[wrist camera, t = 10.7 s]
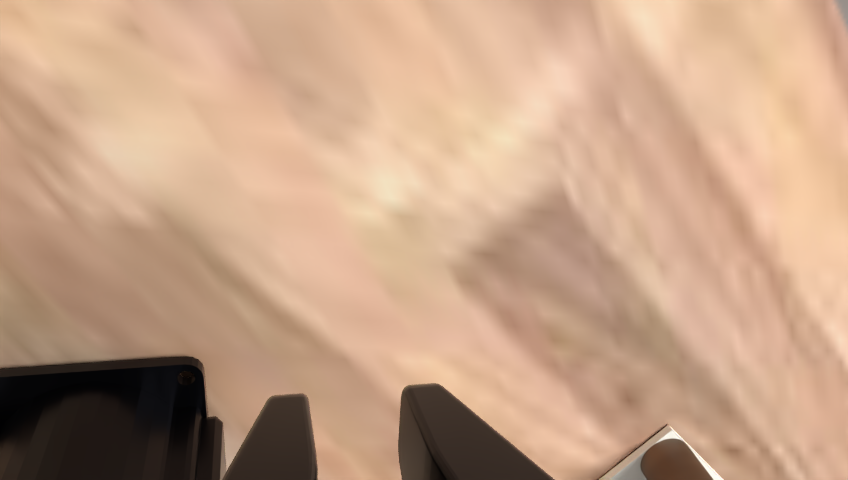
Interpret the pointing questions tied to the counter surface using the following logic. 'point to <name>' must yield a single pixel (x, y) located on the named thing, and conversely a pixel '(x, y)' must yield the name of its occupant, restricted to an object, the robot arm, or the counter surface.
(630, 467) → the card
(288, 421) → the robot arm
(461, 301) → the counter surface
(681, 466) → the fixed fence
